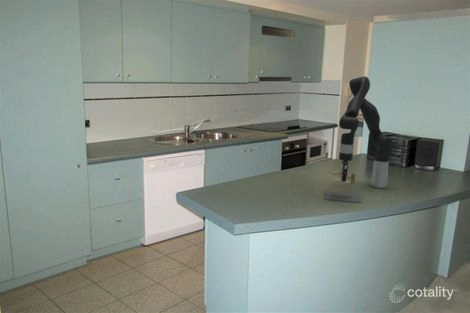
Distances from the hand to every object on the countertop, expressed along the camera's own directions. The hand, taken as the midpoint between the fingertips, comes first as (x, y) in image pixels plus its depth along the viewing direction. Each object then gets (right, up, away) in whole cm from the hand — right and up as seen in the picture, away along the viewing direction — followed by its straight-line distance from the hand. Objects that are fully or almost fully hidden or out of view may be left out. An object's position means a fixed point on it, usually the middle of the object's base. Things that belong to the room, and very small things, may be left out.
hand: (343, 180), depth 236 cm
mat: (0, -10, +2) cm, 11 cm away
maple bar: (0, -1, 0) cm, 1 cm away
